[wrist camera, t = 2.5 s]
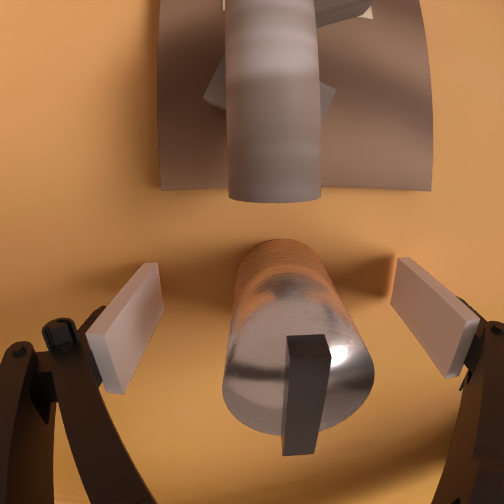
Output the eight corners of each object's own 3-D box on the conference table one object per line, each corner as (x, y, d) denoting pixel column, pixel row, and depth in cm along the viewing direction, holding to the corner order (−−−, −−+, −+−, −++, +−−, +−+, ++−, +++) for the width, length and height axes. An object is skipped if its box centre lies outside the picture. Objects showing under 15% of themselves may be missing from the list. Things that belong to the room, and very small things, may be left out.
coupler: (321, 318, 17) (365, 449, 8) (238, 320, 17) (226, 459, 8) (327, 238, 15) (401, 343, 7) (234, 239, 15) (211, 353, 7)
